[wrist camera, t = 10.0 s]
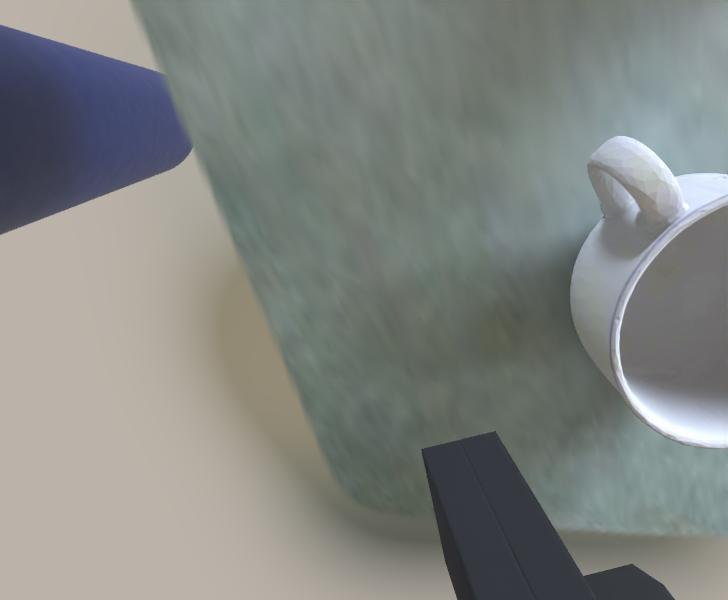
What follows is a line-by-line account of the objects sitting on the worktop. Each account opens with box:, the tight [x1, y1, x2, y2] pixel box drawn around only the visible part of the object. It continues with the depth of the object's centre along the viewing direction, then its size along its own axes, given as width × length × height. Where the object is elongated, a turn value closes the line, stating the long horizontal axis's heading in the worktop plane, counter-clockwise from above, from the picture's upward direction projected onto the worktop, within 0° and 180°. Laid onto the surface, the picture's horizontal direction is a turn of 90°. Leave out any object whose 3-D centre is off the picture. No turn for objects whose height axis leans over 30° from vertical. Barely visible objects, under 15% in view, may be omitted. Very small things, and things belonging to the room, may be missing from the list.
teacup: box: [570, 136, 728, 449], centre depth 27 cm, size 14×11×8 cm
